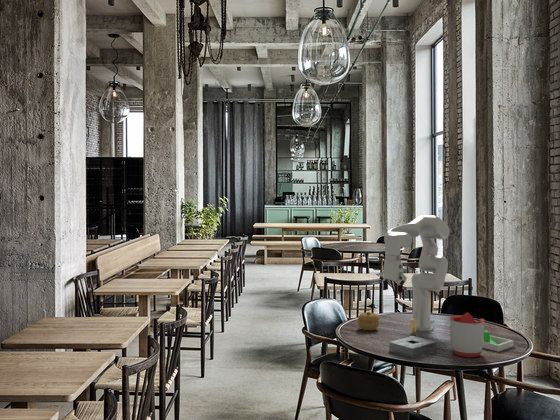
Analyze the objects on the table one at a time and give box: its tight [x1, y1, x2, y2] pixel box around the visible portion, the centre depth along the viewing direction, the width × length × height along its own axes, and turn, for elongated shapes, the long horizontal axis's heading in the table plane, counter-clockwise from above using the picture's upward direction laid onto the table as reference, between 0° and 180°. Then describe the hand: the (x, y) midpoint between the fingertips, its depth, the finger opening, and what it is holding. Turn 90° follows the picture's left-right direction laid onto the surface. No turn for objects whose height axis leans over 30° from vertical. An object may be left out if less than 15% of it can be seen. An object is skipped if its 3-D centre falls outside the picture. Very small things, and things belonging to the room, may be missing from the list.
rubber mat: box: [399, 334, 426, 339], centre depth 286 cm, size 10×10×1 cm
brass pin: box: [409, 318, 417, 337], centre depth 286 cm, size 3×3×10 cm
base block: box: [388, 336, 437, 359], centre depth 265 cm, size 18×14×4 cm
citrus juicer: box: [449, 312, 486, 359], centre depth 261 cm, size 16×17×20 cm
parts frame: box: [482, 334, 514, 352], centre depth 277 cm, size 14×20×3 cm
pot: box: [357, 311, 380, 332], centre depth 306 cm, size 12×12×10 cm
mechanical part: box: [484, 330, 498, 345], centre depth 277 cm, size 12×6×8 cm, turn 1°
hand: (392, 291), depth 282 cm, fingers open, 9 cm apart
